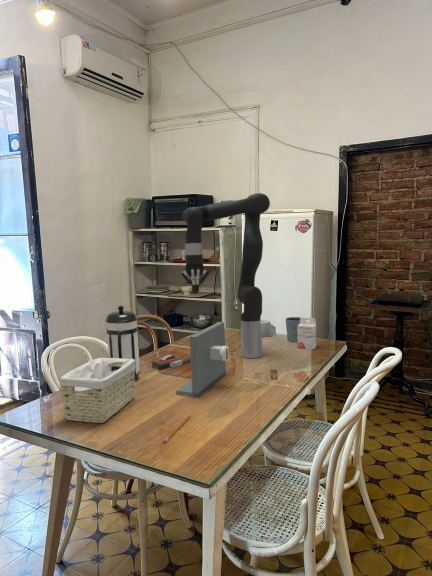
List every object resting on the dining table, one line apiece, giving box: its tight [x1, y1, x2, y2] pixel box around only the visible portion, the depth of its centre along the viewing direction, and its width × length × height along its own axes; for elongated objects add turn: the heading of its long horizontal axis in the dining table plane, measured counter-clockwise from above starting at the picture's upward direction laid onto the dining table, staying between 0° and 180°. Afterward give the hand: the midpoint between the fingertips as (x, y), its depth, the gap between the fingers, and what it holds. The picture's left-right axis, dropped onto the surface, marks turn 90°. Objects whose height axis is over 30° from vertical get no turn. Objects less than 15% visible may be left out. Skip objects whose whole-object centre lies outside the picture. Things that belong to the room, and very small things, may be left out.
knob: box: [220, 345, 230, 362], centre depth 161 cm, size 6×6×6 cm
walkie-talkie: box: [151, 354, 191, 371], centre depth 192 cm, size 9×4×20 cm
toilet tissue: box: [261, 319, 277, 339], centre depth 238 cm, size 9×13×9 cm
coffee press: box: [104, 305, 141, 382], centre depth 174 cm, size 17×16×30 cm
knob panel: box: [175, 321, 227, 398], centre depth 163 cm, size 13×26×22 cm, turn 157°
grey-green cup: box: [285, 316, 303, 344], centre depth 226 cm, size 10×10×12 cm
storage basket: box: [59, 357, 135, 424], centre depth 144 cm, size 24×16×15 cm
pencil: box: [162, 414, 191, 444], centre depth 128 cm, size 1×1×19 cm
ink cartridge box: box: [296, 317, 317, 350], centre depth 211 cm, size 9×5×15 cm, turn 65°
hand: (195, 292), depth 188 cm, fingers closed
